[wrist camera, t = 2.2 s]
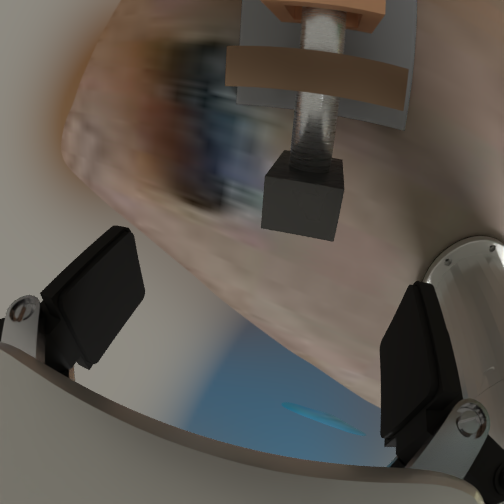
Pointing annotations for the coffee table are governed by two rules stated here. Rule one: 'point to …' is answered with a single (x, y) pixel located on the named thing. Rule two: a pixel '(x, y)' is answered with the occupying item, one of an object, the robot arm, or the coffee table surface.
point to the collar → (354, 3)
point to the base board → (356, 44)
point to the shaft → (309, 148)
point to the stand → (317, 74)
